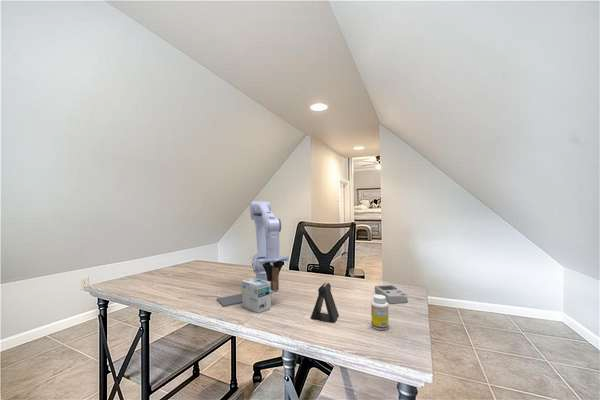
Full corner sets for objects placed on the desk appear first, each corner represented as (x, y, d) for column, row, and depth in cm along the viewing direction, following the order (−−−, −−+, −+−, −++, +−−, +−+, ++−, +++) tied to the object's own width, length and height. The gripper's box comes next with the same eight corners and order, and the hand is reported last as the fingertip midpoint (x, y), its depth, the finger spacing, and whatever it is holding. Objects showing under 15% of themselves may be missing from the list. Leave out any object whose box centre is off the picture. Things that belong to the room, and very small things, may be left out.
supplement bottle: (375, 321, 93) (375, 292, 93) (391, 326, 89) (390, 295, 90) (368, 327, 89) (368, 296, 89) (384, 332, 85) (384, 300, 85)
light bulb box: (271, 308, 106) (271, 281, 106) (258, 313, 101) (258, 285, 101) (254, 302, 113) (254, 276, 113) (241, 306, 108) (241, 280, 108)
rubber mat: (242, 294, 123) (242, 293, 123) (251, 301, 114) (251, 299, 114) (216, 299, 116) (216, 298, 116) (223, 306, 108) (223, 305, 108)
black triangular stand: (339, 316, 98) (338, 283, 98) (334, 323, 92) (334, 288, 92) (316, 313, 101) (315, 281, 101) (310, 319, 96) (310, 285, 96)
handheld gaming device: (388, 304, 110) (388, 295, 110) (374, 293, 125) (374, 285, 125) (408, 304, 111) (409, 295, 111) (392, 292, 126) (392, 284, 126)
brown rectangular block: (272, 286, 114) (272, 265, 114) (278, 290, 109) (278, 268, 109) (266, 287, 113) (266, 266, 113) (273, 291, 108) (273, 268, 108)
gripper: (260, 250, 104) (260, 285, 104) (292, 247, 112) (292, 279, 112) (253, 248, 110) (253, 280, 110) (284, 245, 118) (284, 275, 118)
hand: (272, 279), depth 111 cm, fingers closed on brown rectangular block, 2 cm apart
